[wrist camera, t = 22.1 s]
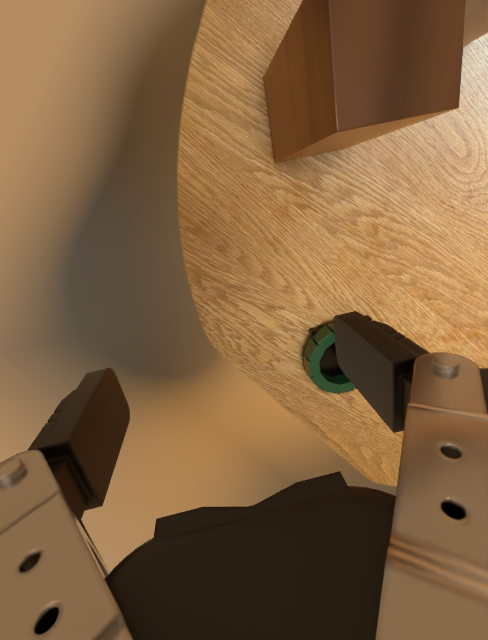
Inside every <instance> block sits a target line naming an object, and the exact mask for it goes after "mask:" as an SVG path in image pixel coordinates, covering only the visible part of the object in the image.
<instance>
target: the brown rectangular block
mask: <svg viewBox="0 0 488 640" xmlns="http://www.w3.org/2000/svg"><path fill="white" fill-rule="evenodd" d="M465 6H466V0H303V1H302V3H301V5H300V7H299V9H298V11H297V13H296V15H295V16H294V18H293V20H292V22H291V24H290V26H289V28H288V30H287V32H286V34H285V36H284V38H283V40H282V42H281V44H280V46H279V48H278V49H277V51H276V53H275V55H274V57H273V59H272V61H271V63H270V65H269V67H268V69H267V71H266V73H265V75H264V77H263V82H264V89H265V96H266V104H267V111H268V118H269V126H270V133H271V140H272V148H273V155H274V162H275V163H277V162H282V161H287V160H292V159H297V158H302V157H307V156H312V155H316V154H321V153H326V152H331V151H336V150H341V149H344V148H347V147H350V146H353V145H356V144H358V143H361V142H364V141H367V140H370V139H372V138H375V137H378V136H381V135H384V134H387V133H389V132H392V131H395V130H398V129H401V128H403V127H406V126H409V125H412V124H415V123H418V122H420V121H423V120H426V119H429V118H432V117H434V116H437V115H440V114H443V113H446V112H449V111H451V110H454V109H457V108H458V107H459V97H460V82H461V67H462V52H463V37H464V22H465Z"/></svg>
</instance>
